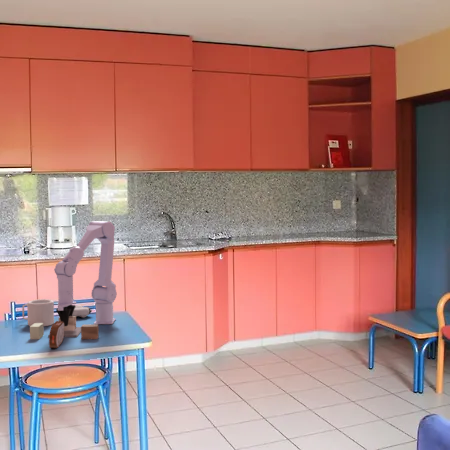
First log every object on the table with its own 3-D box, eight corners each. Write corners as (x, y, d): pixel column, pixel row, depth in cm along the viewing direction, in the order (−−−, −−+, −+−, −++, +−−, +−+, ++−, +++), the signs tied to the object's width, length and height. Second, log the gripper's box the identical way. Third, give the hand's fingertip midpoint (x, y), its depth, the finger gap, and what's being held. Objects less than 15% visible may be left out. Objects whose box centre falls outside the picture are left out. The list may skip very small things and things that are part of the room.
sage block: (30, 339, 223) (29, 326, 223) (34, 335, 229) (34, 323, 229) (39, 339, 223) (39, 326, 223) (43, 335, 229) (43, 323, 229)
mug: (58, 321, 252) (57, 299, 252) (48, 327, 242) (47, 304, 241) (28, 321, 254) (27, 298, 253) (17, 327, 243) (16, 303, 242)
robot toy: (63, 315, 269) (63, 320, 255) (63, 305, 269) (63, 309, 255) (90, 313, 273) (92, 318, 258) (90, 304, 273) (92, 308, 258)
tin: (57, 340, 222) (57, 318, 221) (65, 340, 222) (65, 318, 221) (48, 351, 207) (47, 327, 206) (57, 351, 207) (56, 327, 206)
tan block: (61, 328, 234) (61, 316, 234) (76, 328, 234) (75, 316, 233) (58, 330, 230) (58, 317, 230) (73, 330, 230) (73, 318, 230)
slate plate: (56, 329, 239) (56, 327, 238) (83, 329, 239) (83, 327, 239) (48, 337, 226) (48, 335, 226) (76, 337, 226) (76, 335, 226)
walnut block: (83, 337, 226) (83, 324, 226) (98, 337, 226) (98, 324, 226) (81, 339, 223) (81, 326, 222) (96, 339, 223) (96, 326, 223)
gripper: (70, 294, 224) (70, 329, 225) (80, 288, 238) (81, 320, 239) (52, 294, 224) (52, 329, 225) (63, 288, 239) (64, 320, 239)
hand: (66, 324), depth 232 cm, fingers closed on tan block, 3 cm apart
